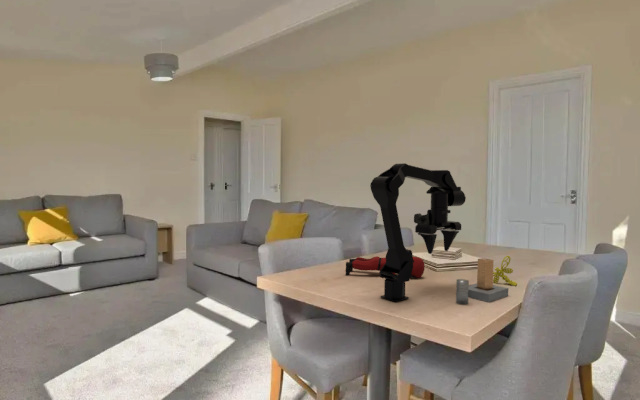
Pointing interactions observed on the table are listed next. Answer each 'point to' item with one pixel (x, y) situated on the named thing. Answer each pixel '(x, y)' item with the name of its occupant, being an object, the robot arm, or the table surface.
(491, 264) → the square bit
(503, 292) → the socket plate
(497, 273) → the decorative insect
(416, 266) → the toy
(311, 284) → the table surface
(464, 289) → the round bit
